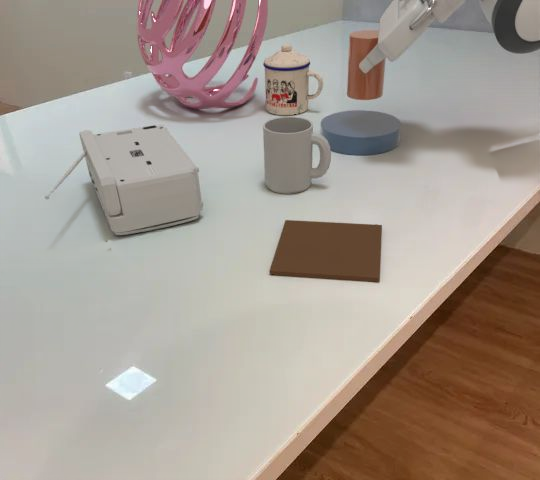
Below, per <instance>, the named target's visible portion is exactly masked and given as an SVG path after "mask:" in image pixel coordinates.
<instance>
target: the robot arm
mask: <svg viewBox="0 0 540 480" xmlns="http://www.w3.org/2000/svg"><path fill="white" fill-rule="evenodd" d="M466 1H467V0H392V2H391V3H390V4H389V5H388V7H387V8H386V9H385V11H384V12H383V13H382V15H381V17H380V19H379V28H378V31H379V35H378V44H377V45H376V46H375V47H374V48H373V50H372V51H371V52H370V53H369V54H368V55H366V56H365V57H364V58H363V59H362V60H361V61H360V63H359V68H360V69H361V70H362V71H363V72H364V73H367V72H368V71H369V70H370V69H371V68H372V67H373V66H375V65H376V64H378V63H379V62H380V61H382V60H383V59H384V58H385V57H386V59H387V60H388V61H389V62H391V63H393V62H395V61H396V60H398V59H399V58H400V57H401V56H402V55H404V53H405V52H406V51H407V50H408V49H409V48H410V47H411V46H412V45H413V44H414V43H415V42H416V41H417V40H418V38H419V37H421V35H423V33H424V32H425V31H426V30H427V29H428V28H429V26H430V25H431V24H432V23H433V22H434V21H435V20H437V21H438V22H439V23H440V24H444V23H445V22H446V21H447V20H448V19H449V18H450V17H451V16H452V15H453V14H454V13H455V12H456V11H457V10H458V9H459V8H460V7H461V6H462V5H463V4H464V3H465V2H466ZM478 4H479V7H480V9H481V11H482V13H483V14H484V16H485V19H486V20H487V22H488V23H489V25H490V26H491V28H492V31H493V33H494V37H495V39H496V41H497V43H498V44H499V45H500V47H501V48H502V49H504V50H505V51H507V52H509V53H513V54H517V55H524V54H529V53H533V52H537V51H538V50H540V0H478Z"/></svg>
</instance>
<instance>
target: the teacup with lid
mask: <svg viewBox="0 0 540 480" xmlns="http://www.w3.org/2000/svg"><path fill="white" fill-rule="evenodd" d="M280 47H281V50H277V51H276V52H275V53H274V54H272V55H269V56H267V57H265V58H264V61H263V64H262V65H263V67H264V87H265V110H266V111H267V112H268V113H270V114H273V115H277V116H295V115H294V114H296V115H300V114H303V113H305V112H306V111H308V109H309V100H314V99H316V98H318V97H319V96H320V94H321V93H322V91H323V88H324V80H323V77H322V75H321V74H320V73H318V72H316V71H311V70H310V65H311V61H310V58H309V57H308V56H307V55H304V54H301V53H299V51H297V50H294V49H293V46H292V44H291V43H283V44H282V45H281V46H280ZM310 77H314V78H315V79H316V80H317V82H318V86H317V91H316V92H315V93H314V94H309V90H310V89H309V87H310V86H309V85H310V84H309V82H310ZM299 113H300V114H299Z"/></svg>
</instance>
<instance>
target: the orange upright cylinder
mask: <svg viewBox="0 0 540 480" xmlns="http://www.w3.org/2000/svg"><path fill="white" fill-rule="evenodd" d="M378 35H379V30H375V29H366V30H365V29H364V30H357V31H353V32H351V33H349V35H348V36H349V37H348V59H347V81H346V82H347V83H346V86H347V87H346V96H347V97H348V98H350V99H353V100H357V101H359V100H360V101H370V100H377V99H379V98H382V97H383V95H384V87H385V71H386V62H387V61H386V60H387V57H385V58H384V59H383V60H382V61H380V62H379V63H378V64H376V65H375V66H373V67H372V68H371V69H370V70H369V71H368V72H367V73H364V72H363V71H362V70H361V69H360V68H359V63H360V61H361V60H362V59H363V58H364V57H365V56H366V55H368V54H369V53H370V52H371V51H372V50H373V48H374V47H375V46H376V45H377V44H378Z"/></svg>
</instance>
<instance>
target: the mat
mask: <svg viewBox="0 0 540 480" xmlns="http://www.w3.org/2000/svg"><path fill="white" fill-rule="evenodd" d="M382 236H383V225H382V224H370V223H352V222H351V223H350V222H335V221H334V222H330V221H311V220H295V219H294V220H292V219H285V220H284V223H283V227H282V230H281V233H280V236H279V239H278V243H277V245H276V249H275V251H274V254H273V258H272V261H271V265H270V267H269V275H270V274H274V275H273V276H281V275H286V276H285V277H296V276H297V277H298V278H311V279H314V278H315V279H325V280H326V279H327V280H342V281H343V280H344V281H355V282H357V281H358V282H372V283H380V281H381V263H382V260H381V258H382V238H383V237H382ZM297 277H296V278H297Z"/></svg>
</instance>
